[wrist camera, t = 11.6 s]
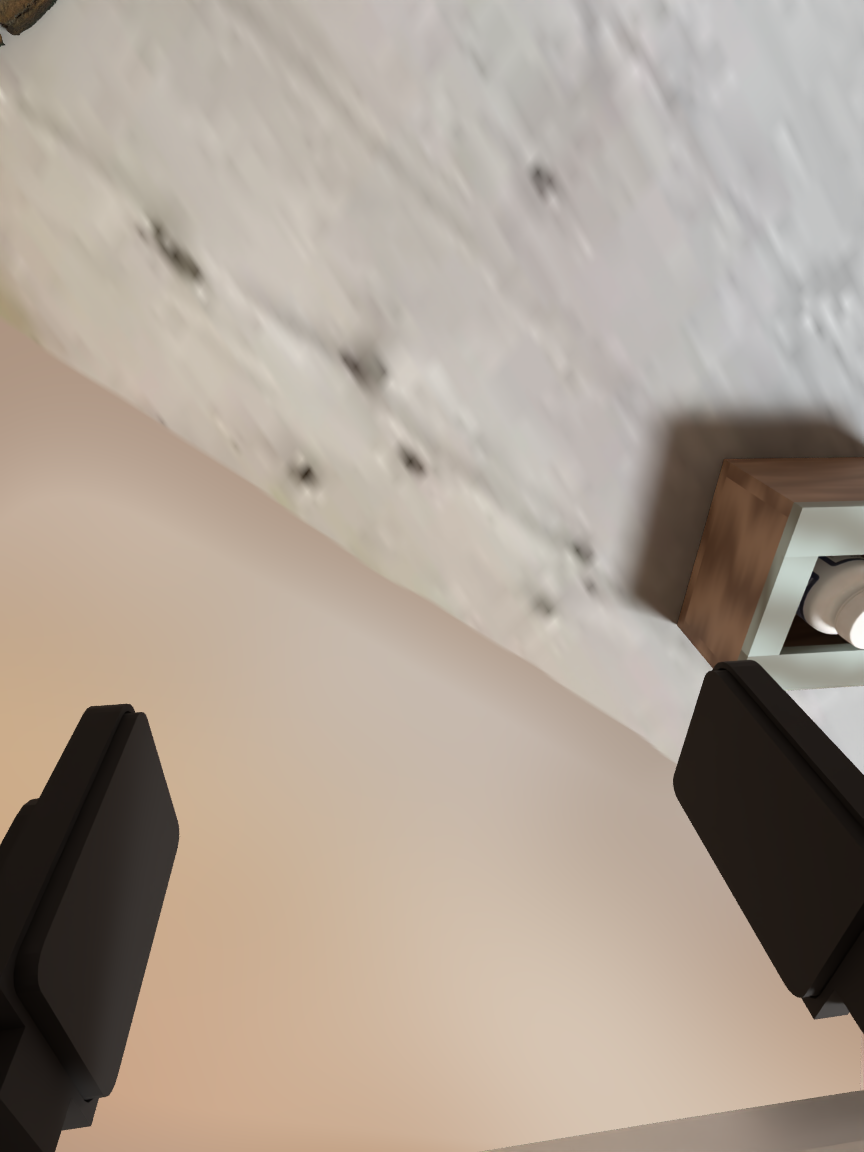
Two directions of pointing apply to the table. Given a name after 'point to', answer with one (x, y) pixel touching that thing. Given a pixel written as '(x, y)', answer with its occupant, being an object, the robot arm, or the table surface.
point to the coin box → (775, 567)
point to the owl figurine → (22, 14)
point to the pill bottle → (836, 598)
